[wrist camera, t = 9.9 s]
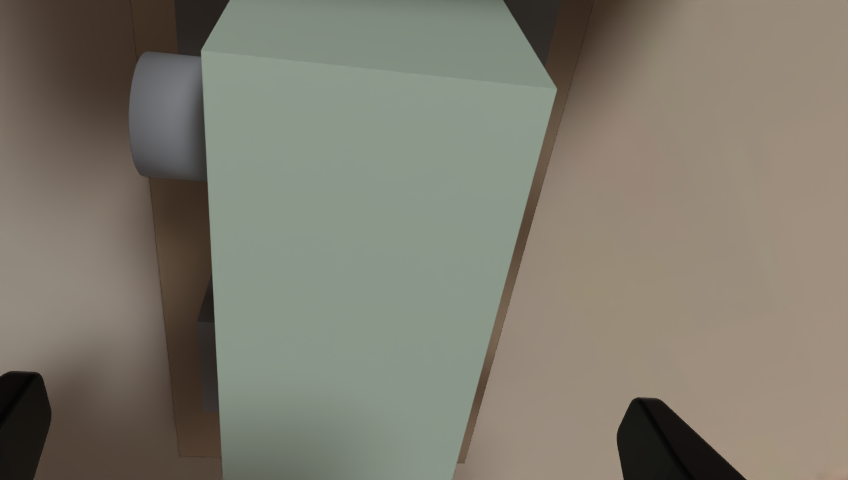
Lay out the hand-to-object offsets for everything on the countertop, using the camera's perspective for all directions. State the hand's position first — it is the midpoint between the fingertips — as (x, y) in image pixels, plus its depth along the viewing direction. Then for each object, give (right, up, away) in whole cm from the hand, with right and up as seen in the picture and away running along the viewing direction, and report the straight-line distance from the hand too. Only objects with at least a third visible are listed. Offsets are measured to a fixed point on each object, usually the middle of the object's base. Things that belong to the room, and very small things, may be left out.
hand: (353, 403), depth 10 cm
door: (-1, +4, +5) cm, 6 cm away
